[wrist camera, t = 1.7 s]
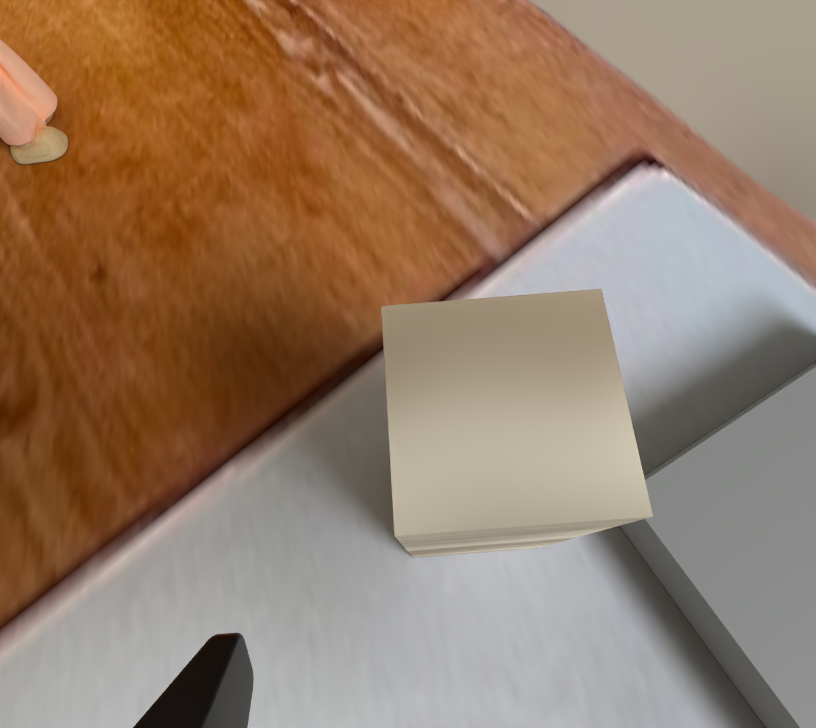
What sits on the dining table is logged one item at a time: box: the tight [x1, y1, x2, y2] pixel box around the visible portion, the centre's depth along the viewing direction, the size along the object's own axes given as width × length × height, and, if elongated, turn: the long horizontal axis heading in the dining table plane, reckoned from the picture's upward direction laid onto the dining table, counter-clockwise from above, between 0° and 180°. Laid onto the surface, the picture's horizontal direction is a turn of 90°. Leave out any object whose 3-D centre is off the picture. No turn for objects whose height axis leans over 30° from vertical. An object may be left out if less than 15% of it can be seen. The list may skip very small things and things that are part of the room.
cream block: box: [381, 289, 653, 557], centre depth 15 cm, size 4×4×11 cm
